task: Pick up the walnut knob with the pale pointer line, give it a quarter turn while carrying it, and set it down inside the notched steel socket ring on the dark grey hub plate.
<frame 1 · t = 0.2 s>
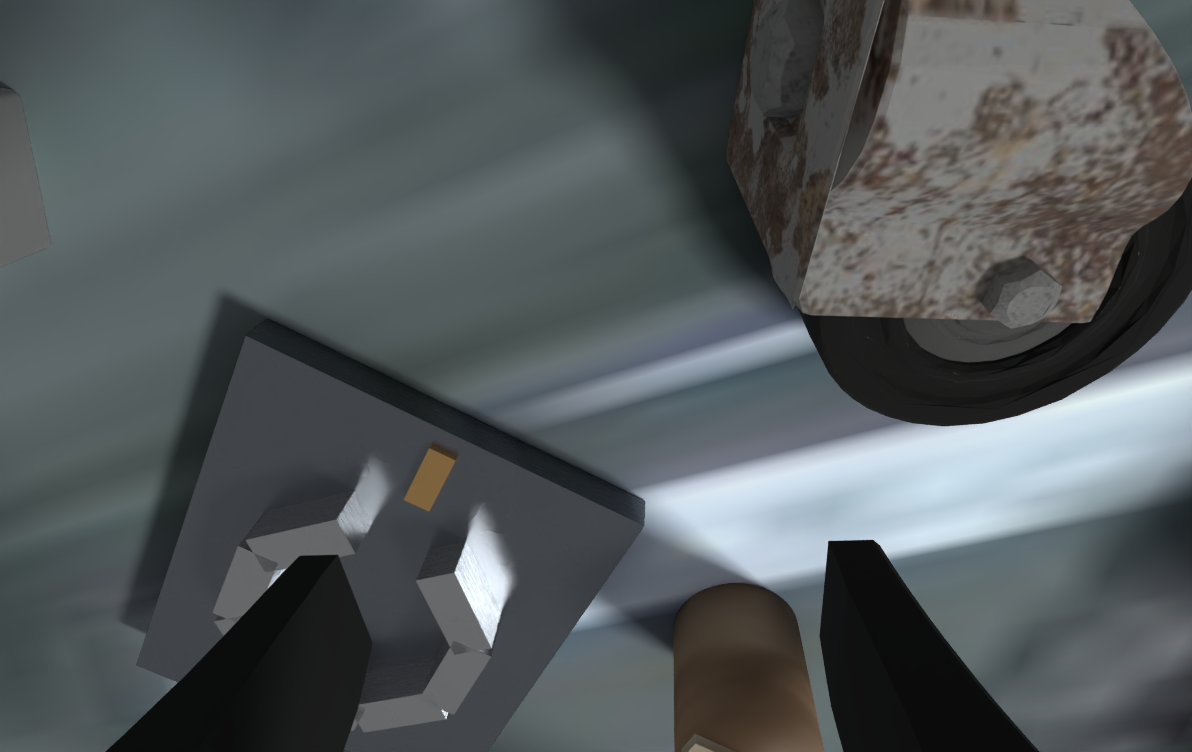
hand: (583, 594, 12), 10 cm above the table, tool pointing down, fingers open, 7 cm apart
caster wheel: (934, 154, 19), on the table
knob: (735, 631, 25), on the table
hub plate: (380, 575, 25), on the table
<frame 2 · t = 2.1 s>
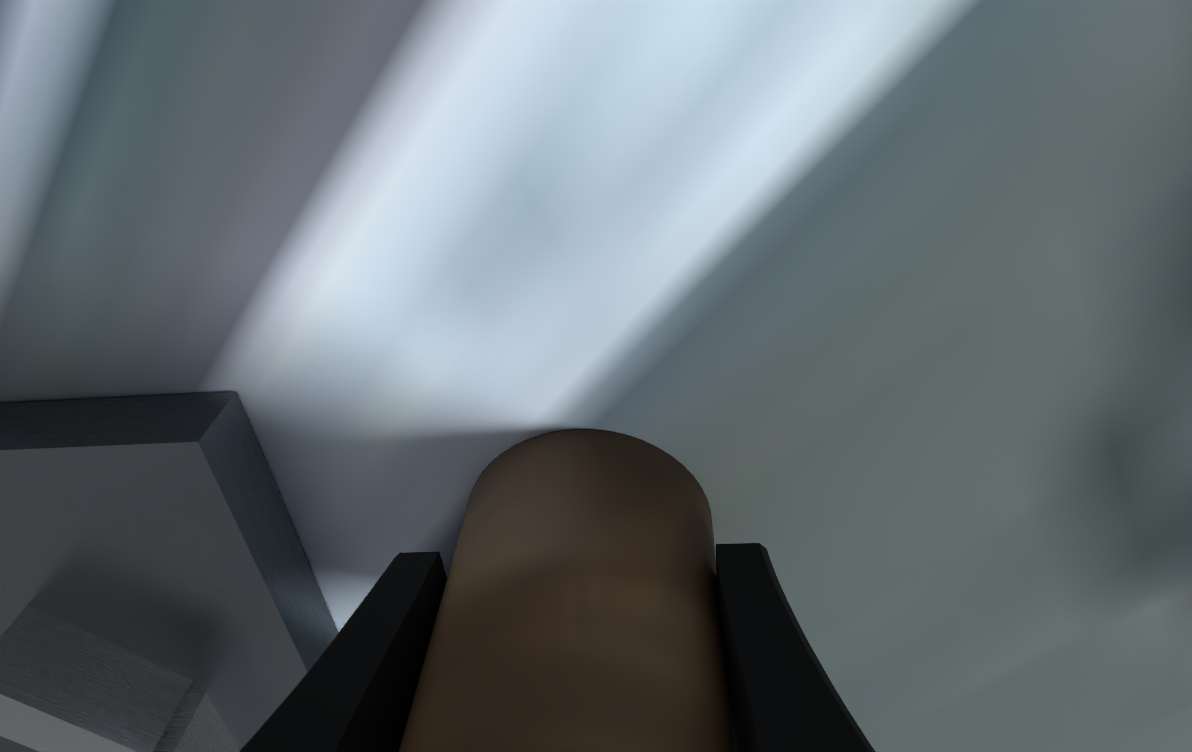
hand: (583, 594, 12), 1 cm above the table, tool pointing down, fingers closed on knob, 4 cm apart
knob: (589, 526, 13), on the table, touching gripper
hub plate: (78, 684, 16), on the table
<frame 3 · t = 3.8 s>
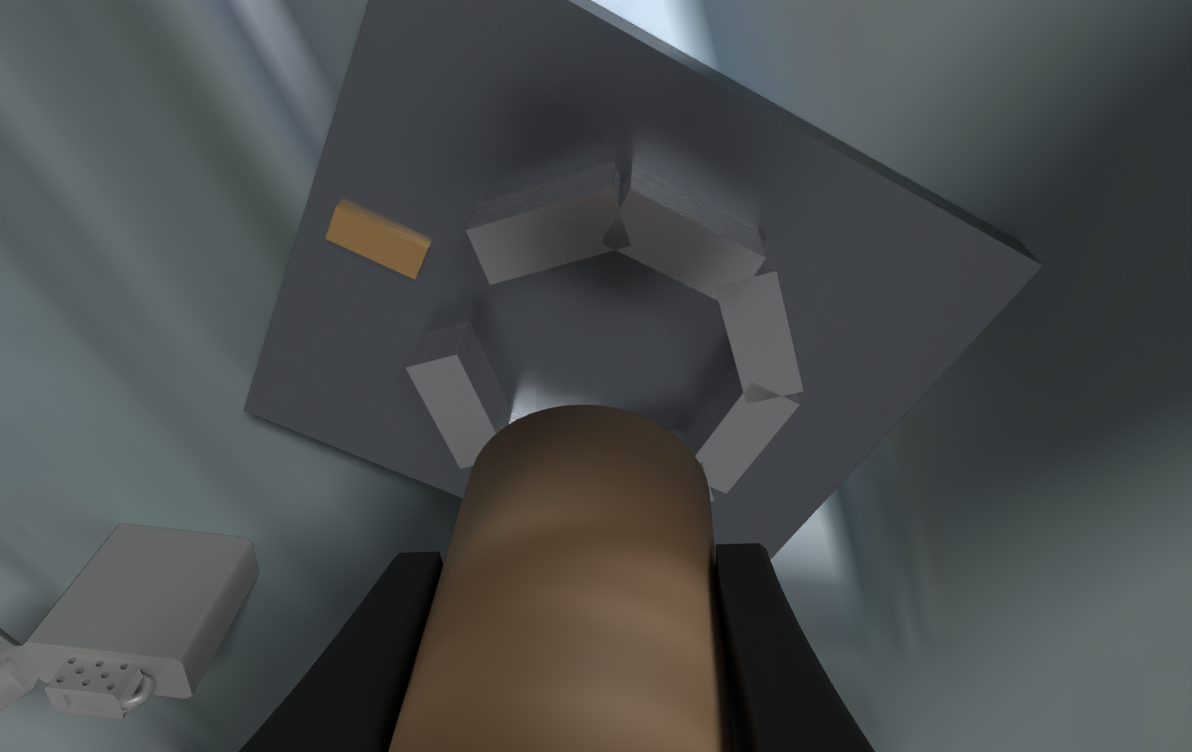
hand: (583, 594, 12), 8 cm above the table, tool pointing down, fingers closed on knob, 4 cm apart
lighter: (144, 540, 24), on the table
knob: (588, 503, 13), point 7 cm above the table, touching gripper
hub plate: (608, 318, 19), on the table
when the fingers open (3 cm above the table, at t = 5.9 s): knob stays where it is, resting on hub plate.
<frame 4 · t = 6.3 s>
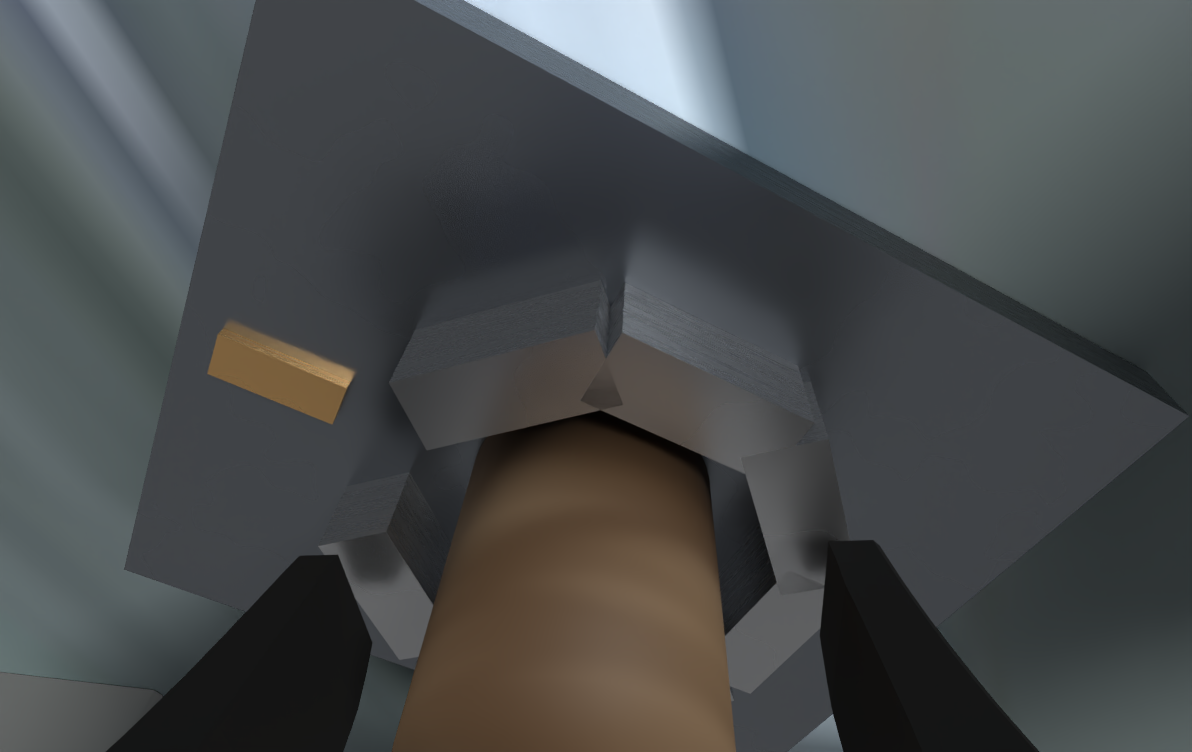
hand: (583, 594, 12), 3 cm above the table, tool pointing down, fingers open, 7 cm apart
lighter: (31, 688, 20), on the table
knob: (590, 491, 13), point 1 cm above the table, touching hub plate
hub plate: (595, 457, 14), on the table
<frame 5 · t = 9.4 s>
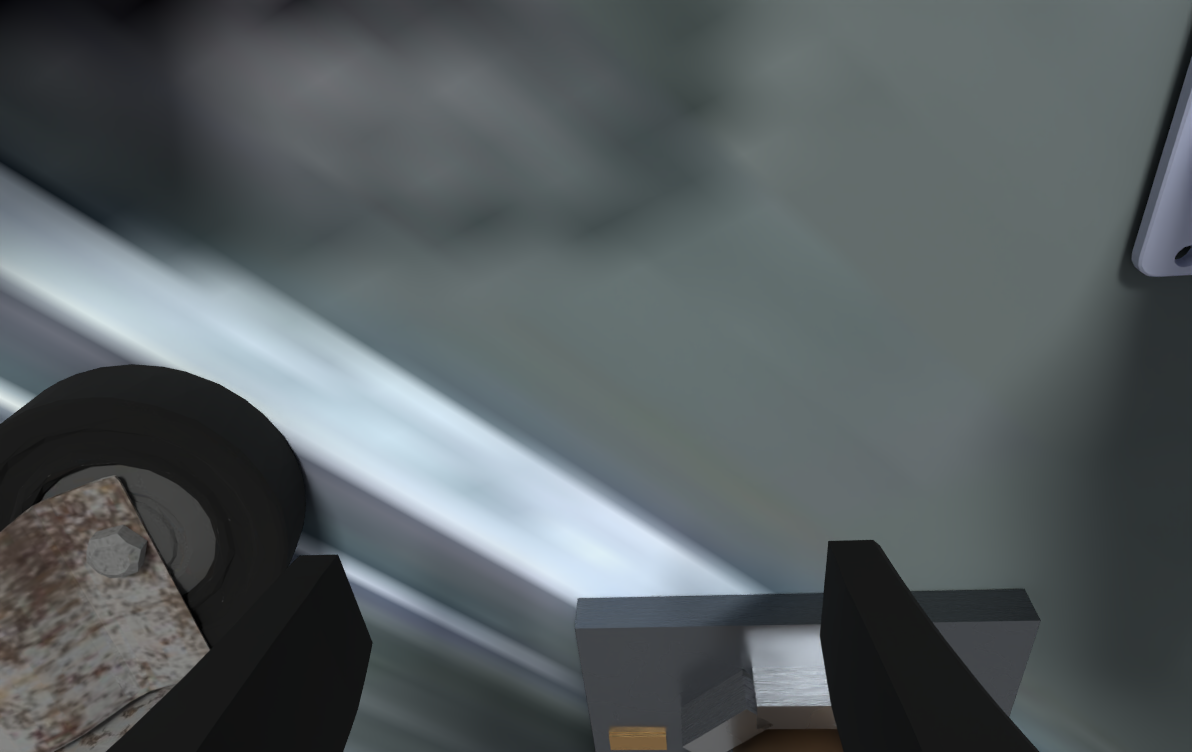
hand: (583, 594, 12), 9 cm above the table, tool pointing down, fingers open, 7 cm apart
caster wheel: (152, 485, 24), on the table
knob: (789, 734, 27), point 1 cm above the table, touching hub plate
hub plate: (787, 706, 28), on the table
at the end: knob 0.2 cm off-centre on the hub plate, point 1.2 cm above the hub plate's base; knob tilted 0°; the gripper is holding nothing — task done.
